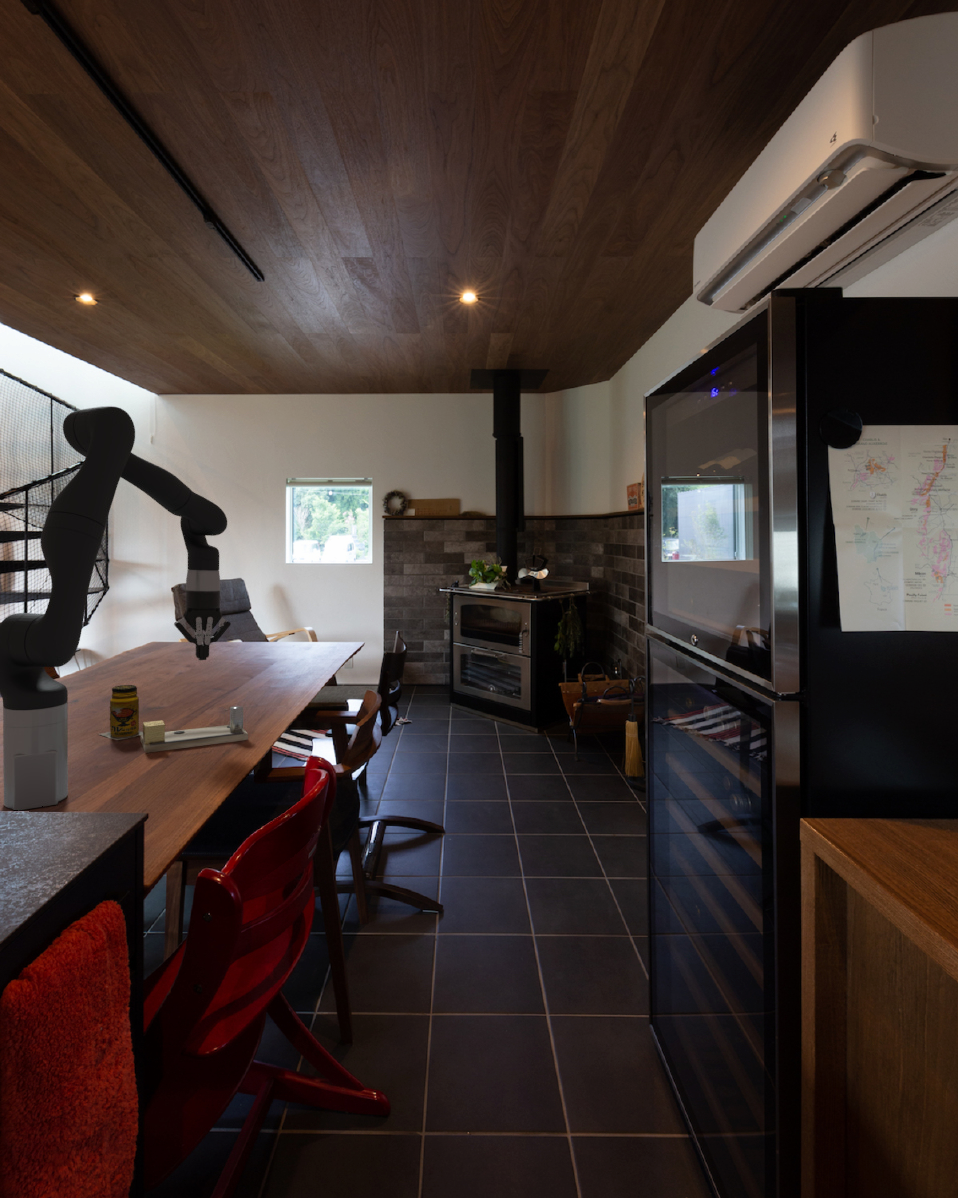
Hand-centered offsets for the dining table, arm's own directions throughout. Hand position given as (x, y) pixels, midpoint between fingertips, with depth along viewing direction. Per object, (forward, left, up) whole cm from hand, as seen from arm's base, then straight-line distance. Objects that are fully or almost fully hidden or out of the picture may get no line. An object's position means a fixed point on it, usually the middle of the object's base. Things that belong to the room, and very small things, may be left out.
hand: (202, 659), depth 148 cm
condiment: (+10, +16, -19) cm, 27 cm away
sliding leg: (-4, +11, -17) cm, 21 cm away
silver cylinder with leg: (-3, -7, -17) cm, 19 cm away
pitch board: (-3, +2, -19) cm, 19 cm away
